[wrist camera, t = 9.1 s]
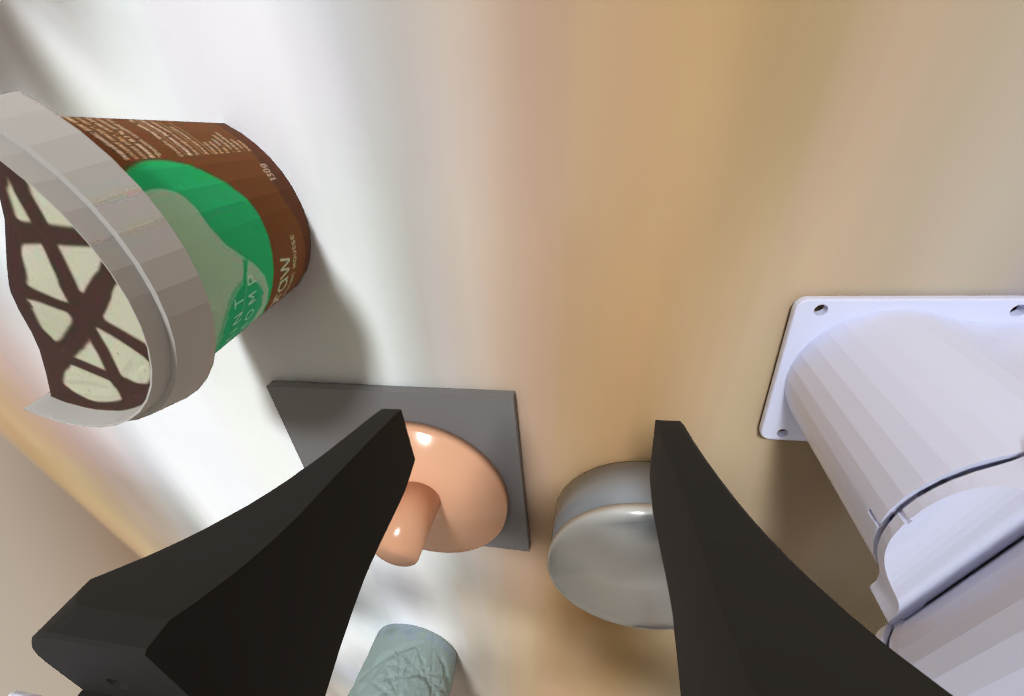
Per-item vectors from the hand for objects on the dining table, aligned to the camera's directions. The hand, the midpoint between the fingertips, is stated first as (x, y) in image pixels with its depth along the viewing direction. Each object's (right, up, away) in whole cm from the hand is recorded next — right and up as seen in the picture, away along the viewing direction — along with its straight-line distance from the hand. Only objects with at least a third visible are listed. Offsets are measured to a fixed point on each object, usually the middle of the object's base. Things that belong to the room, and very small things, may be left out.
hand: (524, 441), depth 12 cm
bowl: (+8, -9, +16) cm, 20 cm away
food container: (-13, +8, +10) cm, 18 cm away
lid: (-6, -7, +17) cm, 20 cm away
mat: (-7, -6, +17) cm, 20 cm away
